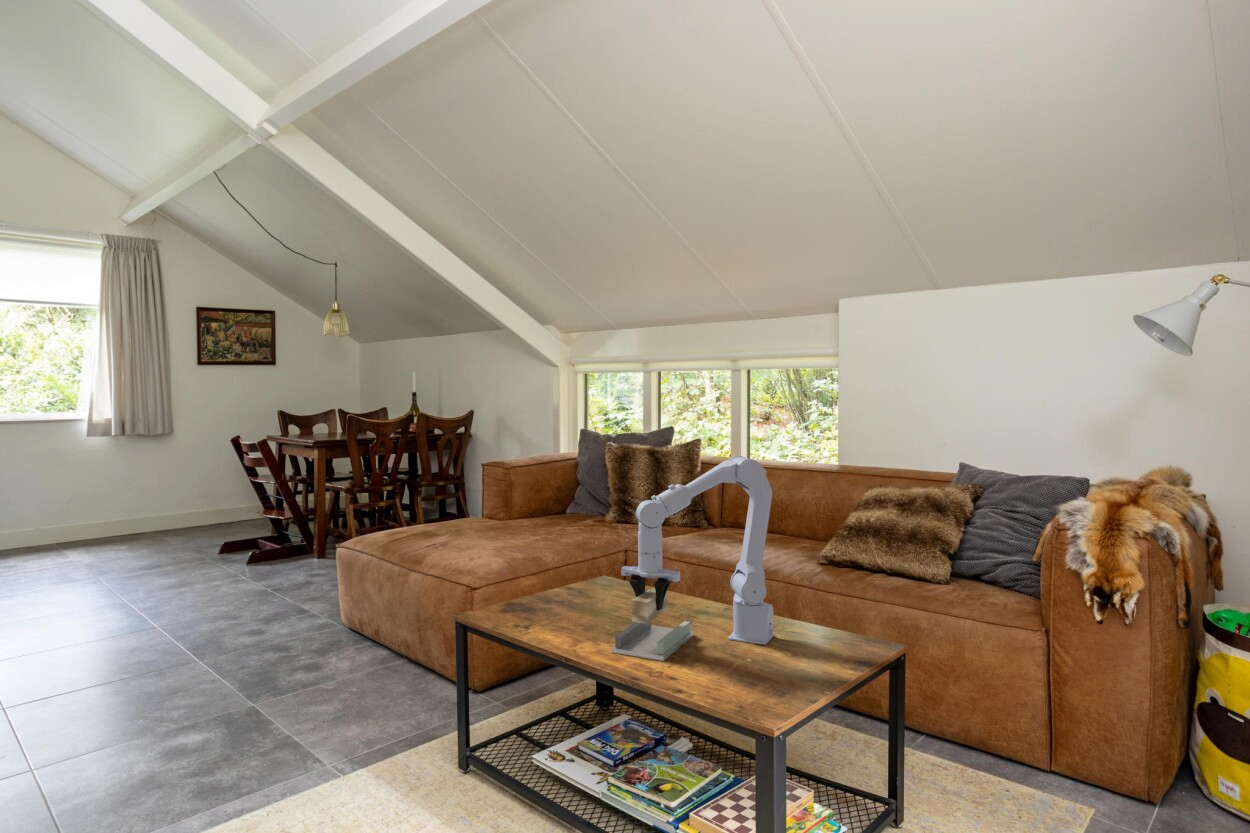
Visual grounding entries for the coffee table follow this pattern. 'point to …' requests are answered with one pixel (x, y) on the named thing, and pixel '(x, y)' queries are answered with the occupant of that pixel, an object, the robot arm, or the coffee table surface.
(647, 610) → the wood bar
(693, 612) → the coffee table surface
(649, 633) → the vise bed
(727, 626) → the coffee table surface
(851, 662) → the coffee table surface
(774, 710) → the coffee table surface
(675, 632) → the bar
